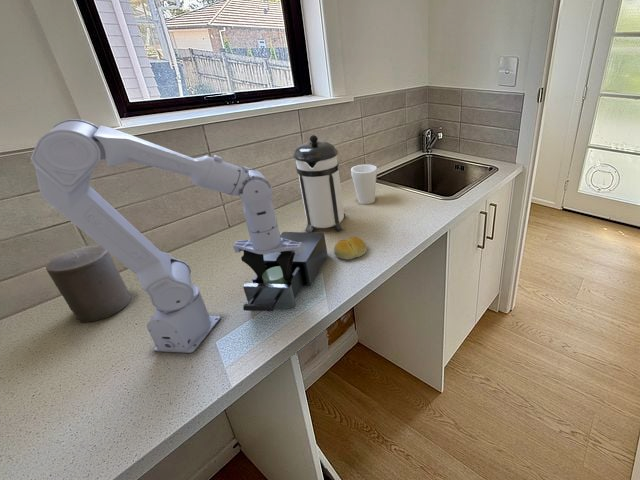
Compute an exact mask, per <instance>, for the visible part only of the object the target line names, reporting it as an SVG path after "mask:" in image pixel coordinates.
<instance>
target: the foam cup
mask: <svg viewBox="0 0 640 480" xmlns="http://www.w3.org/2000/svg"><path fill="white" fill-rule="evenodd" d="M377 175H378V169H377V166H375V165H374V164H367V163H366V164H365V163H364V164H357V165H354V166H351V168H350V176H351V178H352V181H353V182H352V183H353V185H354V190H355V195H356V198H357V203H359V204H362V205H370V204H373V203H374V202H375V201H376V189H377V187H376V185H377Z"/></svg>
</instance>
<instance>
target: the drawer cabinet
mask: <svg viewBox="0 0 640 480" xmlns="http://www.w3.org/2000/svg"><path fill="white" fill-rule="evenodd" d="M280 237H281V238H283V239H287V240H291V241H294V242H302V247H303V250H302V252H301V253H300V254H295V255H294V259H293V263H292V264H303V266H304V271H305V276H306V282H305V283H304V285H303V287H302V288H304V287H305V288H311V287H312V285H313V283H314V281H316V278H317V277H318V274H319V272H320V271H321V269H322V267H323V265H324V263H325V262H326V260H327V258H328V257H329V255H328V249H327V242H326V236H325V232H311V233H309V232H306V231H305V232H304V231H302V232H301V231H282V232H281V233H280ZM280 254H281V252H276V253H270V254H263V257H264V263H265V264H266V263H276V264H278V262H277V261H276V259H277V257H278V256H279V255H280Z"/></svg>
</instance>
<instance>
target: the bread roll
mask: <svg viewBox="0 0 640 480" xmlns="http://www.w3.org/2000/svg"><path fill="white" fill-rule="evenodd" d="M365 242H366V241H364V239H363V238H361V237H357V236H352V237H350V238H349V239H341V240H339V241H338V242H336V243H335V245H334V248H333V253H334V255H335V256H336V257H337V258H339V259H342V260H353V259H355V258H360V257H362V256H363V255H365V254H366V253H367V251H368V249H367V247H366V243H365Z"/></svg>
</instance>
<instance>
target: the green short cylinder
mask: <svg viewBox="0 0 640 480" xmlns="http://www.w3.org/2000/svg"><path fill="white" fill-rule="evenodd" d="M262 279H263V282H264V284H287V283H288V281H286V280H285V279H284V277H283V273H282V269H281V267H280V266H276V267H272V268H269V269H267V270H266V271H265V272H264V273H263V274H262Z"/></svg>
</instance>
